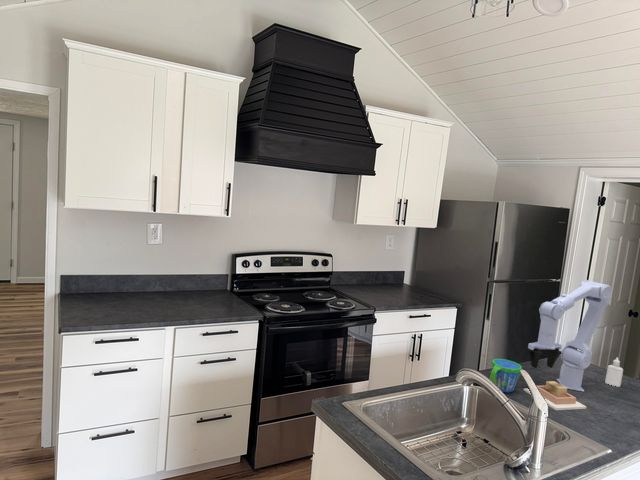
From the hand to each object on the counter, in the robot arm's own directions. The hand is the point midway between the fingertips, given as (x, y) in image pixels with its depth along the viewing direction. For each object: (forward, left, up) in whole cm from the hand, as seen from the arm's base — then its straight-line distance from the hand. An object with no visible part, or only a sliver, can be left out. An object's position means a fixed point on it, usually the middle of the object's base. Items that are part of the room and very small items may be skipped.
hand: (541, 366), depth 179 cm
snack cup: (+6, -14, -10) cm, 18 cm away
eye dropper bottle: (-23, +35, -10) cm, 43 cm away
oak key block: (+7, +4, -9) cm, 12 cm away
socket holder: (+7, +4, -9) cm, 12 cm away
